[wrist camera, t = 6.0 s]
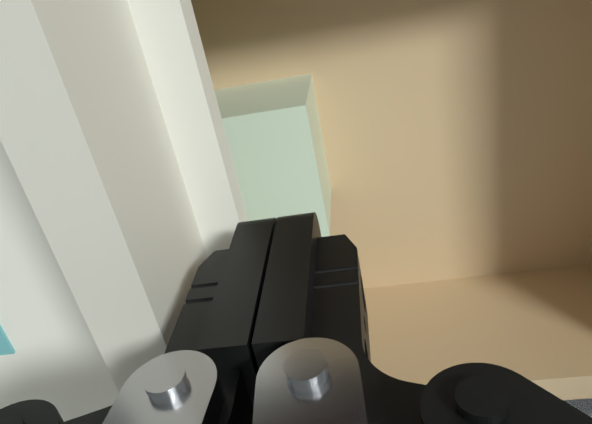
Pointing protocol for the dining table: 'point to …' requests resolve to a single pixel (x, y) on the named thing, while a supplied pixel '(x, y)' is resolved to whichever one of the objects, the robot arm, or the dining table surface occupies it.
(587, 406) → the dining table surface
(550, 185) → the open tan box
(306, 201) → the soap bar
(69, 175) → the lid
